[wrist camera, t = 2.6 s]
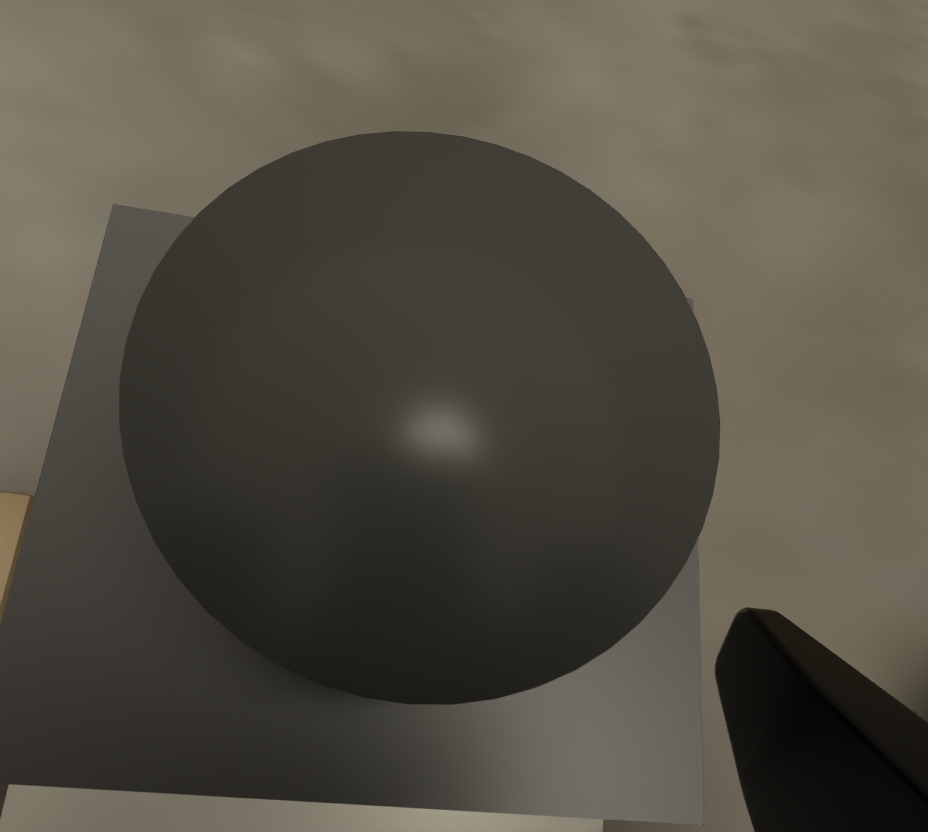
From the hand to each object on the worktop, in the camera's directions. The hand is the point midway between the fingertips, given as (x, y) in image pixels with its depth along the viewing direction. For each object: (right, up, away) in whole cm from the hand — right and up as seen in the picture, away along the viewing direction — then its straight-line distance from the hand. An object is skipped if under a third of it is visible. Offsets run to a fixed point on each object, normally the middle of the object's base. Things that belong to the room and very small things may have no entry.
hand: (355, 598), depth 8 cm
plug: (-1, -2, +7) cm, 7 cm away
